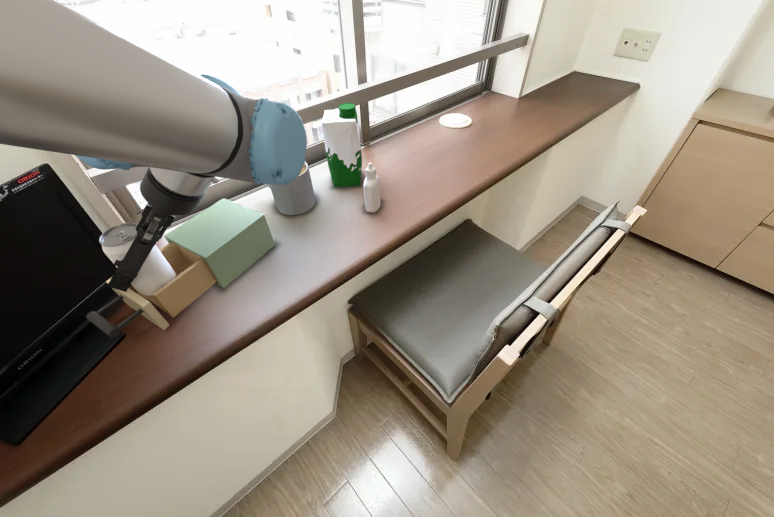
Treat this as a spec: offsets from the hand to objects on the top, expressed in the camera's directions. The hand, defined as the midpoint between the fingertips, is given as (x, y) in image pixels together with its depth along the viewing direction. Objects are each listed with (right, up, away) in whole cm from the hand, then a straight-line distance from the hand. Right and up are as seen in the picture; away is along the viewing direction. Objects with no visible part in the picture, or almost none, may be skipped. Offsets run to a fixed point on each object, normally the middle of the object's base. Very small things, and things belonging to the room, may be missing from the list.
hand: (125, 271), depth 59 cm
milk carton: (+34, +24, +36) cm, 55 cm away
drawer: (+3, -6, +5) cm, 9 cm away
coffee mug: (+21, +17, +29) cm, 40 cm away
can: (+4, -2, +3) cm, 5 cm away
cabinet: (+11, +3, +15) cm, 19 cm away
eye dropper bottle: (+42, +15, +26) cm, 52 cm away
